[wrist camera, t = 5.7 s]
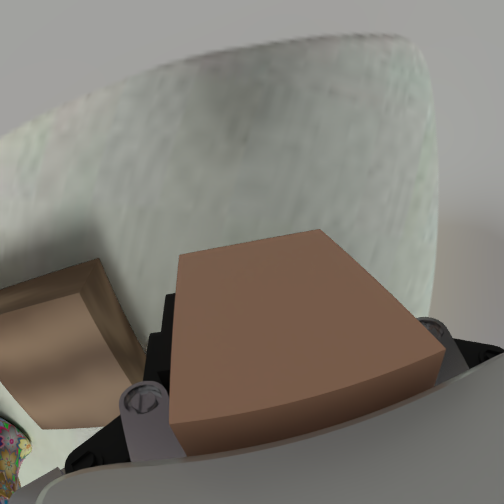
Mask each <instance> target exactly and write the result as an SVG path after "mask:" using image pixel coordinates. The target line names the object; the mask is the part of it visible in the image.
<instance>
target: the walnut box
mask: <svg viewBox="0 0 504 504" xmlns="http://www.w3.org/2000/svg"><path fill="white" fill-rule="evenodd" d="M145 361H146V355H145V353H144V351H143V349H142V347H141V345H140V343H139V342H138V340H137V338H136V336H135V334H134V332H133V330H132V328H131V326H130V324H129V322H128V320H127V318H126V316H125V314H124V312H123V310H122V308H121V306H120V304H119V302H118V300H117V298H116V295H115V293H114V291H113V289H112V287H111V285H110V282H109V280H108V278H107V276H106V273H105V271H104V269H103V266H102V264H101V262H100V259H99V258H97V259H94V260H91V261H87V262H84V263H81V264H78V265H75V266H71V267H68V268H65V269H62V270H59V271H56V272H52V273H49V274H46V275H43V276H40V277H37V278H34V279H31V280H28V281H25V282H22V283H19V284H16V285H13V286H10V287H7V288H4V289H1V290H0V381H1V383H2V384H3V385H4V386H5V388H6V389H7V390H8V391H9V393H10V394H11V395H12V396H13V398H14V399H15V400H16V401H17V402H18V403H19V405H20V406H21V407H22V408H23V409H24V410H25V411H26V412H27V414H28V415H29V416H30V417H31V418H32V419H33V420H34V421H35V422H36V423H37V424H38V425H39V427H40V428H41V429H73V428H90V427H102V426H106V425H107V424H109V423H110V422H111V421H113V420H114V419H115V418H116V417H118V416H119V415H120V410H119V399H120V396H121V394H122V393H123V392H124V391H125V390H126V389H127V388H128V387H130V386H131V385H133V384H135V383H138V382H142V381H143V376H144V368H145Z"/></svg>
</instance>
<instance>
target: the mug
mask: <svg viewBox="0 0 504 504" xmlns="http://www.w3.org/2000/svg"><path fill="white" fill-rule="evenodd" d="M31 450H32V447H31V444H30V442H29V440H28V439H27V438H26V436H25V435H24V434H23V433H22V432H21V431H20V430H18V429H17V428H16V427H15V426H13V425H12V424H10V423H9V422H7V421H5V420H4V419H2V418H0V504H8V503H9V499H10V497H11V495H12V494H13V493H14V492H15V491H16V490H18V489H20V488H21V485H20V481H19V478H18V473H19V469H20V466H21V464H22V462H23V460H24V458H25V457H26V456H27V455H28V454H29V453H30V452H31Z"/></svg>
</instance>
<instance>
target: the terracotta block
mask: <svg viewBox="0 0 504 504" xmlns="http://www.w3.org/2000/svg"><path fill="white" fill-rule="evenodd" d="M445 351H446V348H445V347H444V346H443V345H442V344H441V343H440V342H439V341H438V340H437V339H436V338H435V337H434V336H433V335H432V334H431V333H430V332H429V331H428V330H427V329H426V328H425V327H424V326H423V325H422V324H421V323H420V322H419V321H418V320H417V319H416V318H415V317H414V316H413V315H412V314H411V313H410V312H409V311H408V310H407V309H406V308H405V307H404V306H403V305H402V304H401V303H400V302H399V301H398V300H397V299H396V298H395V297H394V296H393V295H392V294H391V293H389V292H388V291H387V290H386V289H385V288H384V287H383V286H382V285H381V284H380V283H379V282H378V281H377V280H376V279H375V278H374V277H372V276H371V275H370V274H369V273H368V272H367V271H366V270H365V269H364V268H363V267H362V266H361V265H360V264H358V263H357V262H356V261H355V260H354V259H353V258H352V257H351V256H350V255H349V254H347V253H346V252H345V251H344V250H343V249H342V248H341V247H340V246H339V245H337V244H336V243H335V242H334V241H333V240H332V239H331V238H330V237H328V236H327V235H326V234H325V233H324V232H323V231H322V230H320V229H317V230H311V231H306V232H300V233H295V234H289V235H284V236H278V237H273V238H267V239H262V240H256V241H251V242H245V243H240V244H235V245H229V246H224V247H218V248H213V249H208V250H202V251H197V252H192V253H187V254H181V255H179V263H178V273H177V283H176V295H175V307H174V320H173V334H172V351H171V370H170V397H169V425H170V427H171V429H172V431H173V432H174V434H175V436H176V438H177V440H178V441H179V443H180V445H181V447H182V448H183V450H184V452H185V454H186V455H187V457H189V456H197V455H205V454H212V453H218V452H225V451H231V450H236V449H242V448H247V447H252V446H257V445H262V444H266V443H271V442H275V441H280V440H284V439H288V438H292V437H296V436H300V435H303V434H307V433H311V432H314V431H318V430H321V429H325V428H328V427H331V426H334V425H338V424H341V423H344V422H347V421H350V420H353V419H356V418H359V417H362V416H364V415H367V414H370V413H373V412H375V411H378V410H381V409H383V408H386V407H388V406H391V405H393V404H396V403H398V402H401V401H403V400H406V399H408V398H410V397H413V396H415V395H417V394H420V393H422V392H424V391H426V390H428V389H431V388H433V387H434V385H435V382H436V379H437V376H438V373H439V370H440V367H441V364H442V361H443V358H444V354H445Z"/></svg>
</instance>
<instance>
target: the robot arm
mask: <svg viewBox="0 0 504 504" xmlns="http://www.w3.org/2000/svg"><path fill="white" fill-rule="evenodd" d="M175 295H176V293H173V294H167V295H166V297H165V304H164V312H163V320H162V328H161V332H157V333H151V334H150V336H149V342H148V348H147V355H146V361H145V368H144V376H143V381H142V382H138V383H135V384H133V385H131V386H130V387H128V388H127V389H126V390H125V391H124V392H123V393H122V394H121V396H120V399H119V410H120V415H119V416H118V417H116V418H115V419H114V420H113V421H111V422H110V423H109V424H107V425H106V426H105V427H104V428H102V429H101V430H100V431H98V432H97V433H96V434H94V435H93V436H92V437H91V438H89V439H88V440H87V441H85V442H84V443H83V444H81V445H80V446H79V447H77V448H76V449H75V450H73V451H72V452H71V453H70V454H69V456H68V458H67V459H66V462H65V468H63V469H61V470H60V469H59V468H58V467H57V468H55V469H53V470H52V471H50V472H48V473H47V474H45V475H43V476H41V477H40V478H38V479H36V480H34V481H32V482H31V483H29V484H27V485H25V486H23V487H22V488H20V489H18V490H16V491H15V492H14V493H13V494H12V495H11V497H10V499H9V503H8V504H504V349H502V348H500V347H498V346H494V345H488V344H482V343H477V342H471V341H465V340H460V339H454V338H452V336H451V334H450V332H449V331H448V329H447V327H446V326H445V325H444V324H443V323H442V322H440V321H439V320H436V319H434V318H429V317H419V318H416V319H417V320H418V321H419V322H420V323H421V324H422V325H423V326H424V327H425V328H426V329H427V330H428V331H429V332H430V333H431V334H432V335H433V336H434V337H435V338H436V339H437V340H438V341H439V342H440V343H441V344H442V345H443V346H444V347H445V348H446V351H445V354H444V358H443V361H442V364H441V367H440V370H439V373H438V376H437V379H436V382H435V385H434V387H433V388H431V389H428V390H426V391H424V392H422V393H420V394H417V395H415V396H413V397H410V398H408V399H406V400H403V401H401V402H398V403H396V404H393V405H391V406H388V407H386V408H383V409H381V410H378V411H375V412H373V413H370V414H367V415H364V416H362V417H359V418H356V419H353V420H350V421H347V422H344V423H341V424H338V425H334V426H331V427H328V428H325V429H321V430H318V431H314V432H311V433H307V434H303V435H300V436H296V437H292V438H288V439H284V440H280V441H275V442H271V443H266V444H262V445H257V446H252V447H247V448H242V449H236V450H231V451H225V452H218V453H212V454H205V455H197V456H189V457H187V455H186V454H185V452H184V450H183V448H182V447H181V445H180V443H179V441H178V440H177V438H176V436H175V434H174V432H173V431H172V429H171V427H170V425H169V397H170V370H171V351H172V334H173V320H174V307H175Z"/></svg>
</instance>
